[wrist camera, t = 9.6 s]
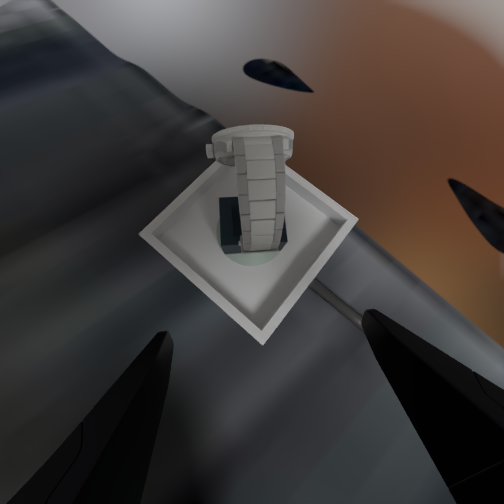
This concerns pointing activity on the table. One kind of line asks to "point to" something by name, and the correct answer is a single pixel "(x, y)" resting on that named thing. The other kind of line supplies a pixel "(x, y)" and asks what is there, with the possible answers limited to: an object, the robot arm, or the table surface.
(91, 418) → the robot arm
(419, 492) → the table surface
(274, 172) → the watch
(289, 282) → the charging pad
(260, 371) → the table surface
